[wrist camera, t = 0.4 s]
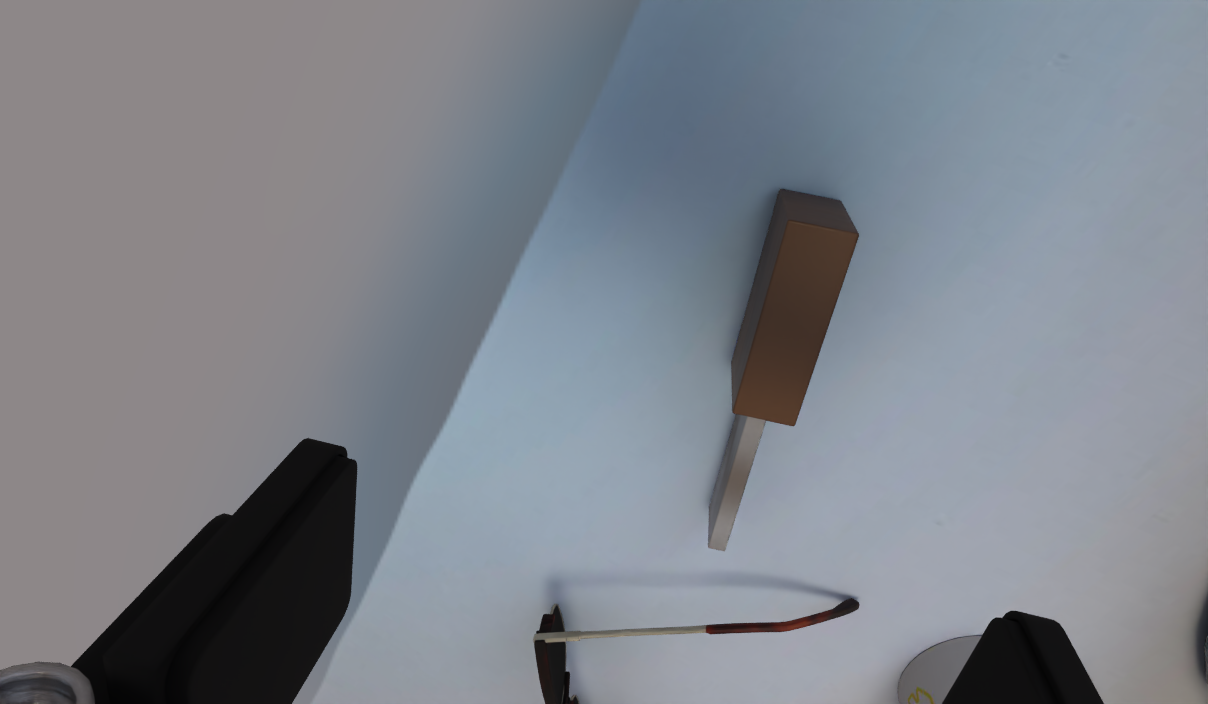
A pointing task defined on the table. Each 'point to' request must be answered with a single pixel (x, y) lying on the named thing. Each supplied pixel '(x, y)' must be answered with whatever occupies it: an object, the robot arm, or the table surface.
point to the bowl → (1206, 657)
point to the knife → (781, 334)
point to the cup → (935, 671)
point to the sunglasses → (554, 636)
